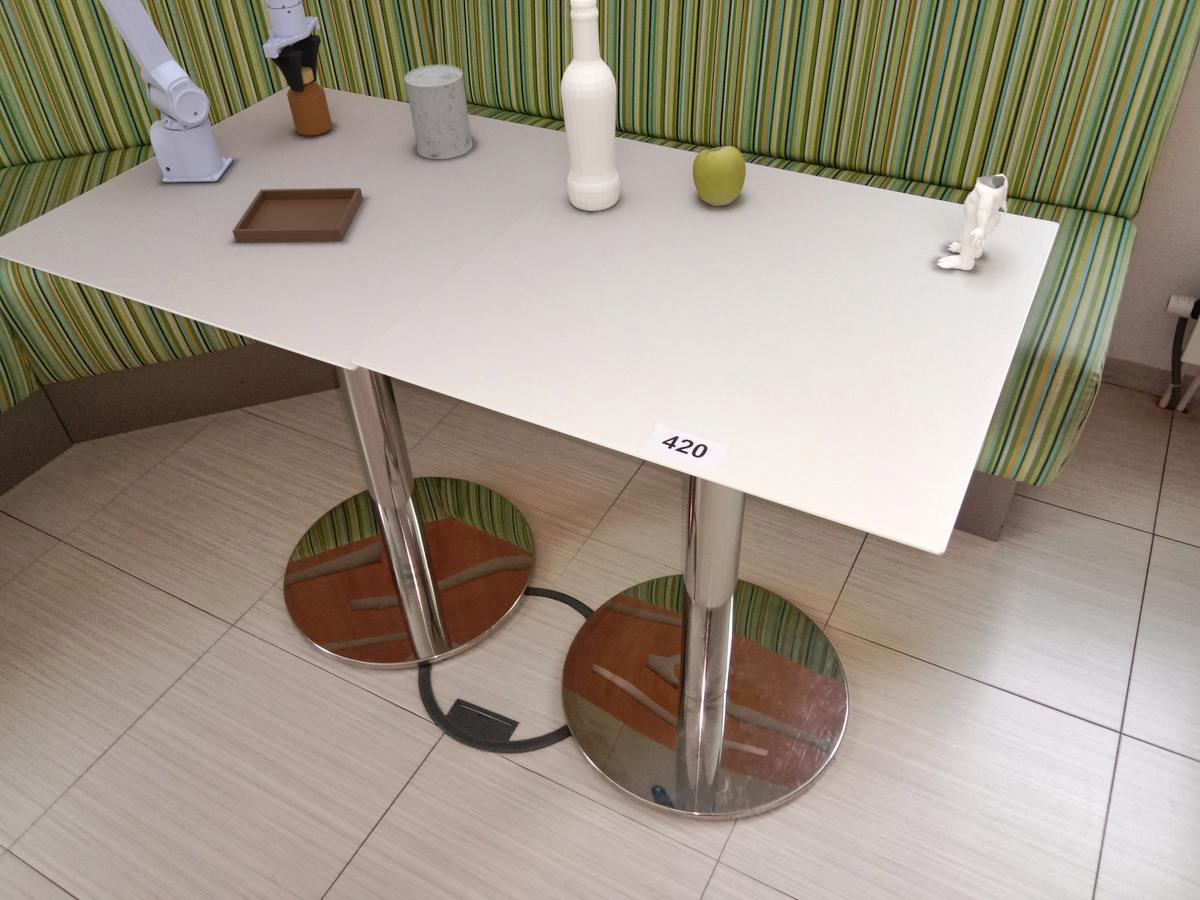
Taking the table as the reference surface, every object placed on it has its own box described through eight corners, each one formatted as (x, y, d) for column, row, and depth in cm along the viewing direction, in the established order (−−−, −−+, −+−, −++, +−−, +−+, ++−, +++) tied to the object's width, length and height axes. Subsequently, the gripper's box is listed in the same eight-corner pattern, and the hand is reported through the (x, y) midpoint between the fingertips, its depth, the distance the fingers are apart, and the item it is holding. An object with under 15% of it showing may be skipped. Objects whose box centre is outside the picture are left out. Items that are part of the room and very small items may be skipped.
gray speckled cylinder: (438, 164, 161) (426, 91, 153) (406, 148, 167) (392, 76, 159) (483, 146, 166) (474, 74, 158) (451, 130, 171) (440, 60, 163)
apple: (754, 204, 144) (737, 143, 138) (702, 219, 146) (683, 160, 140) (751, 180, 150) (735, 120, 144) (702, 195, 152) (683, 137, 146)
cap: (306, 85, 166) (304, 75, 165) (286, 83, 167) (284, 74, 166) (318, 76, 169) (315, 67, 168) (298, 75, 170) (296, 65, 169)
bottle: (615, 214, 146) (607, 5, 126) (562, 211, 147) (546, 4, 127) (624, 189, 152) (618, -14, 132) (574, 186, 153) (561, -15, 133)
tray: (236, 242, 145) (232, 231, 143) (263, 200, 155) (260, 189, 153) (341, 241, 144) (338, 229, 142) (363, 198, 153) (360, 187, 152)
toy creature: (956, 236, 137) (974, 156, 129) (999, 246, 134) (1021, 165, 126) (927, 275, 130) (945, 193, 122) (972, 287, 127) (993, 204, 119)
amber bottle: (291, 135, 171) (277, 81, 165) (301, 120, 176) (287, 67, 170) (327, 135, 171) (314, 80, 165) (335, 120, 176) (323, 66, 170)
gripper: (286, -12, 166) (305, 68, 175) (238, 16, 155) (261, 99, 165) (322, -10, 164) (340, 71, 173) (276, 19, 154) (298, 103, 163)
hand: (304, 85), depth 169 cm, fingers closed on cap, 4 cm apart
